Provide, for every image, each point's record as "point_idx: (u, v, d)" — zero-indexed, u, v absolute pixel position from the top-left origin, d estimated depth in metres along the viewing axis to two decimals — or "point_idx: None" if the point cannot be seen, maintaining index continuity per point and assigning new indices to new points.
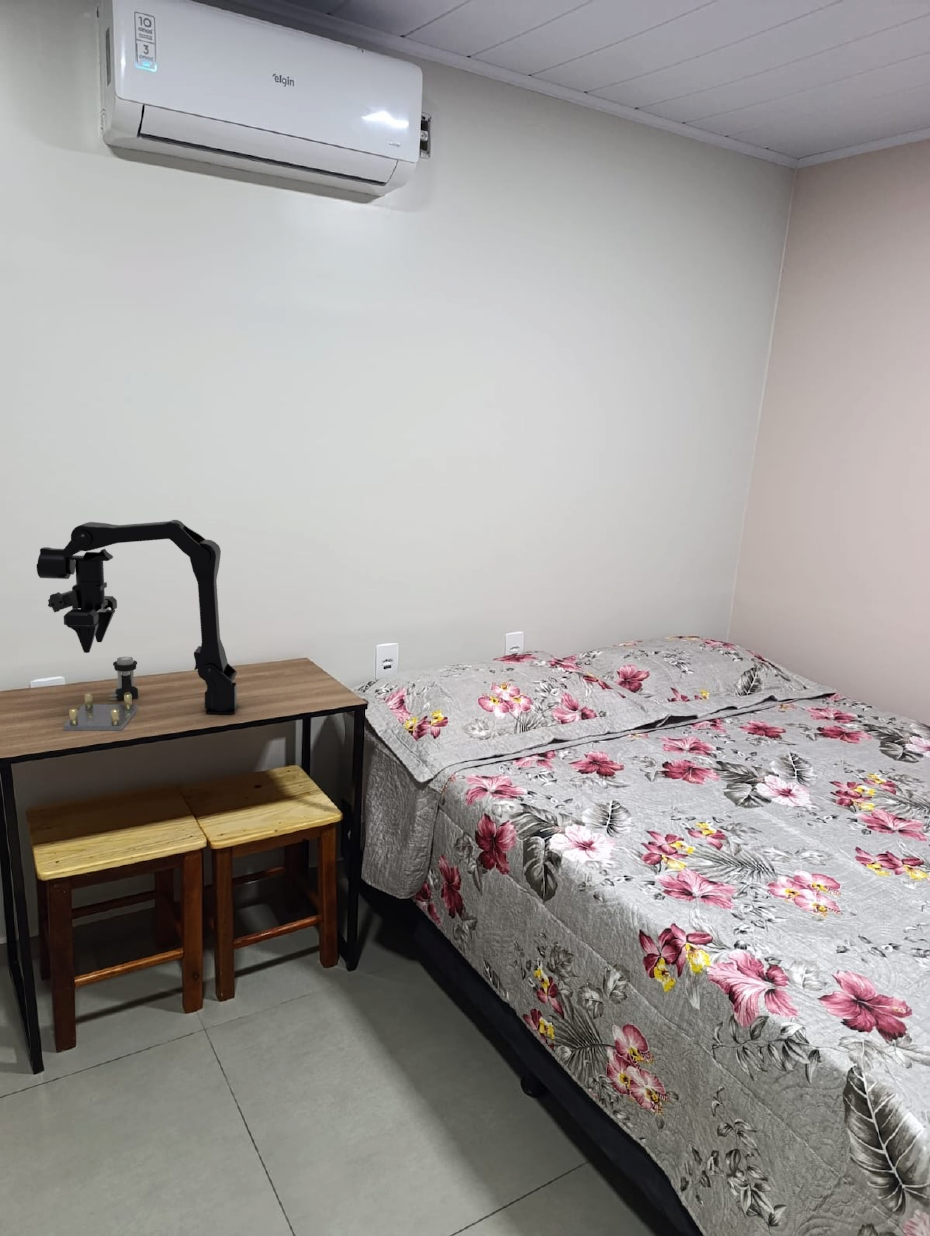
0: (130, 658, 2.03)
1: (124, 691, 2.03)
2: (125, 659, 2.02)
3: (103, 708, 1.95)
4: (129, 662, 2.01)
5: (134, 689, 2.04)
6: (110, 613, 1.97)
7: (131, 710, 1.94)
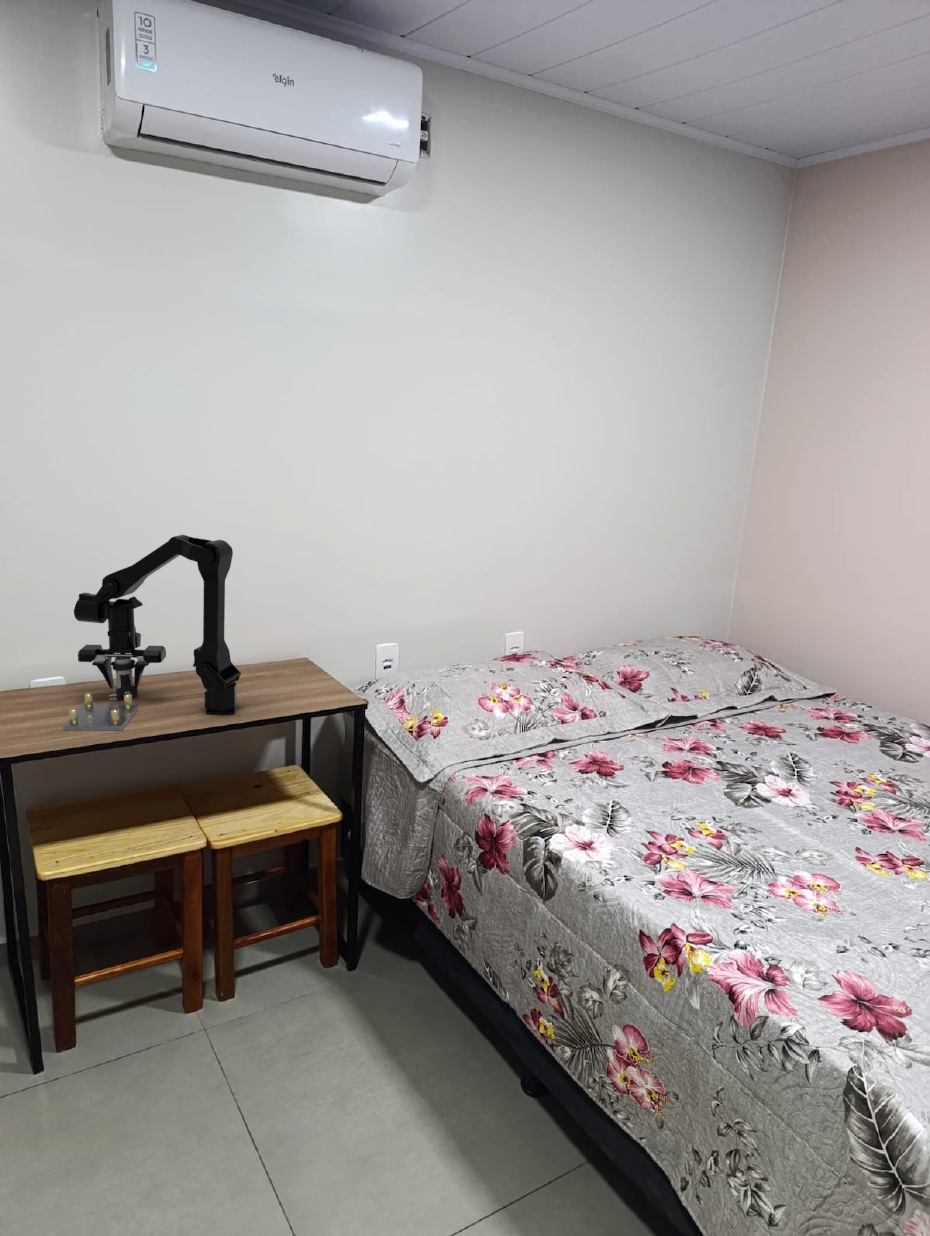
0: None
1: (123, 690, 2.03)
2: (123, 658, 2.02)
3: (103, 708, 1.95)
4: (127, 661, 2.01)
5: (133, 688, 2.04)
6: (135, 664, 2.00)
7: (131, 710, 1.94)
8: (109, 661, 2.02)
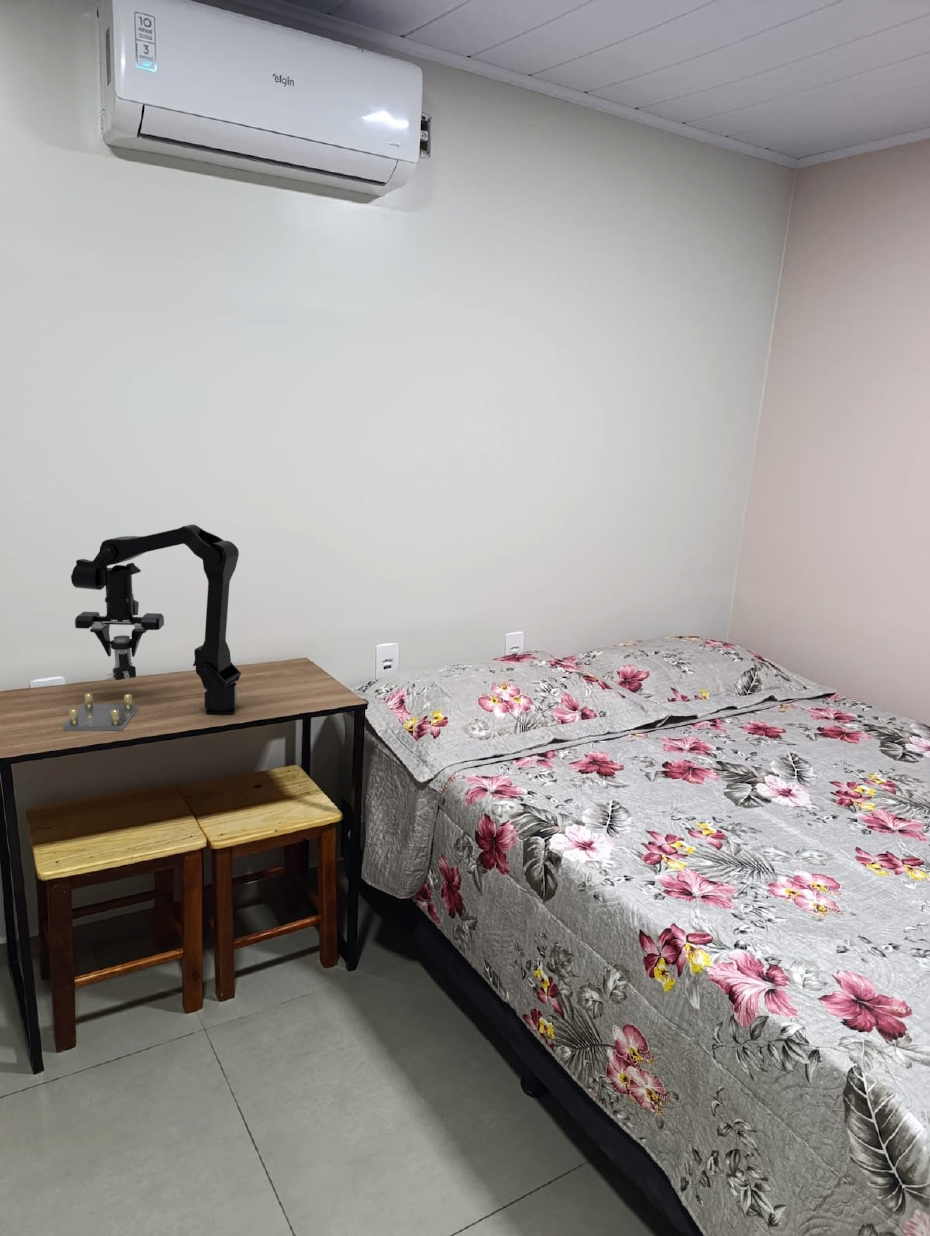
0: (127, 636, 2.02)
1: (122, 670, 2.02)
2: (122, 637, 2.01)
3: (103, 708, 1.95)
4: (126, 640, 2.01)
5: (132, 668, 2.03)
6: (132, 631, 1.98)
7: (131, 710, 1.94)
8: (107, 628, 2.01)
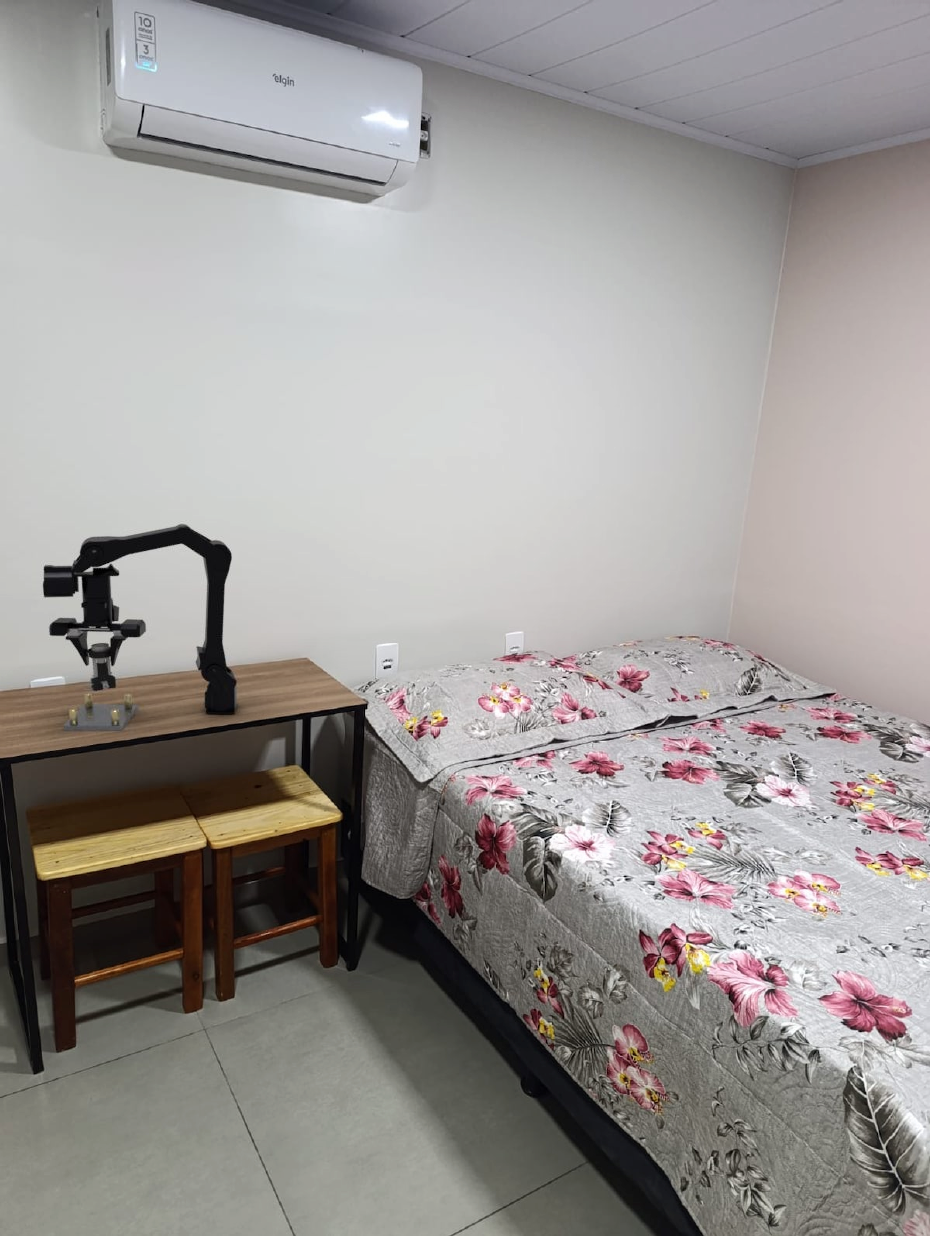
0: (106, 644, 1.88)
1: (100, 680, 1.88)
2: (100, 645, 1.87)
3: (103, 708, 1.95)
4: (104, 648, 1.87)
5: (111, 678, 1.89)
6: None
7: (131, 710, 1.94)
8: (84, 636, 1.87)
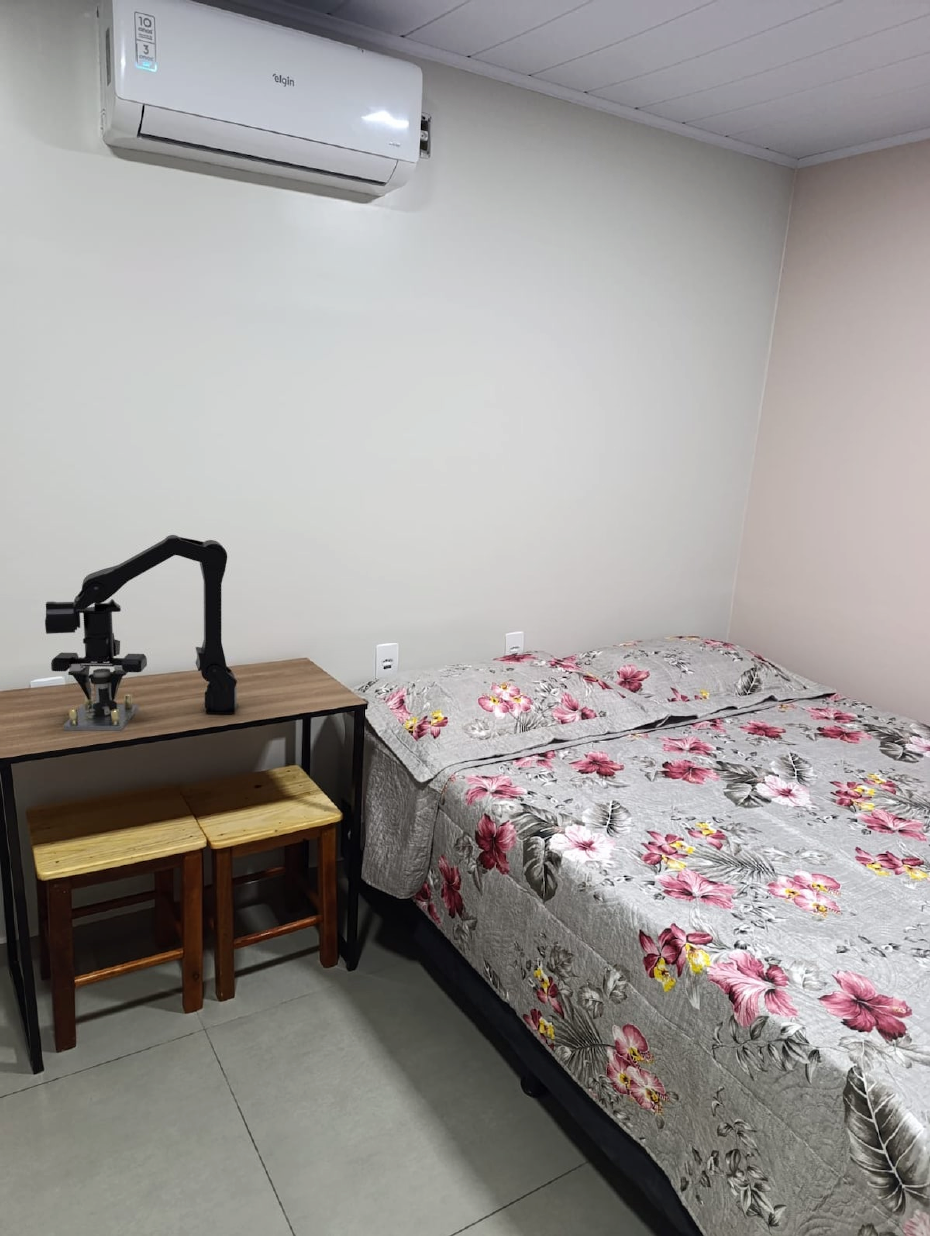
0: (107, 670, 1.89)
1: (102, 705, 1.89)
2: (102, 671, 1.88)
3: None
4: (106, 674, 1.88)
5: (113, 703, 1.90)
6: None
7: (131, 710, 1.94)
8: (87, 670, 1.88)
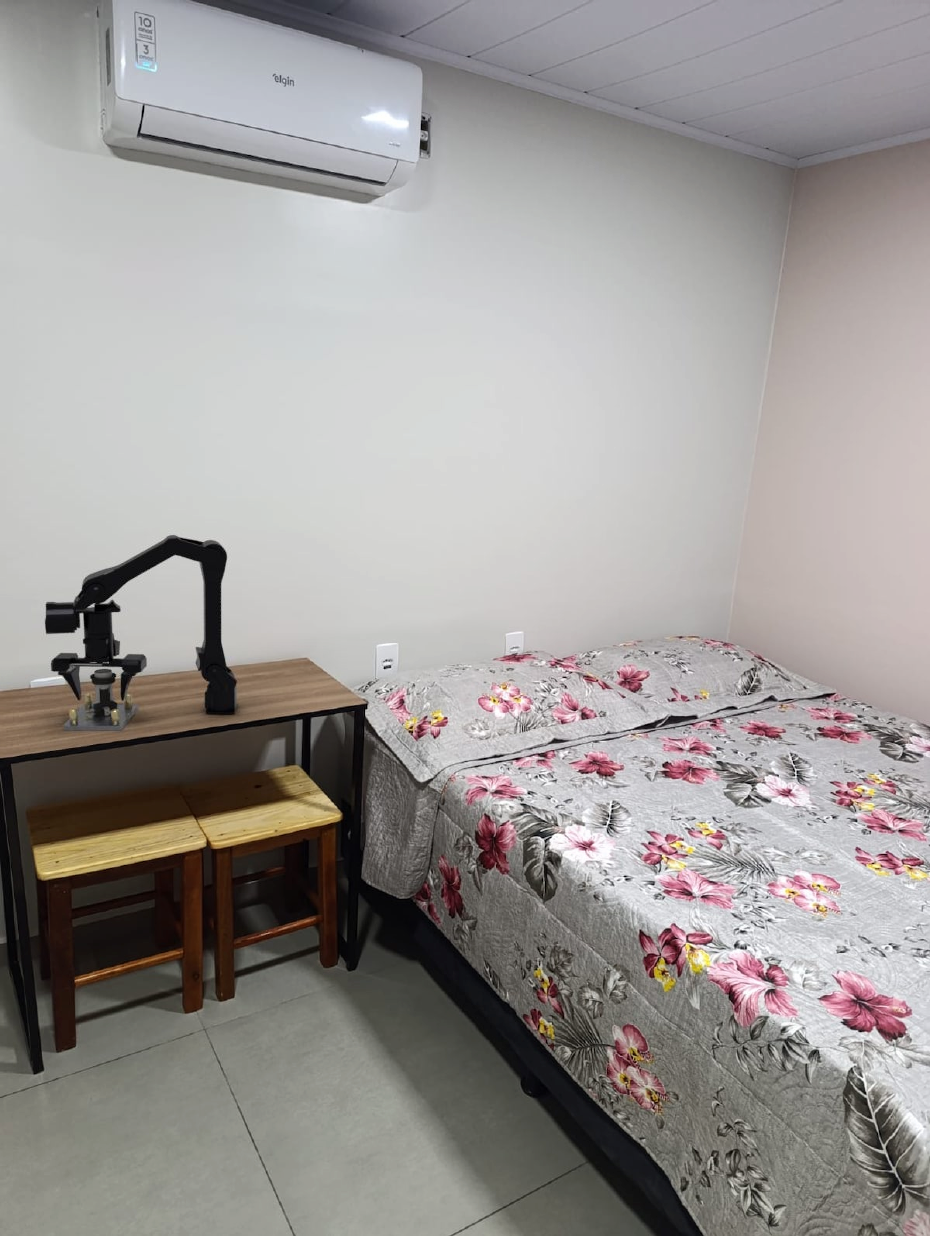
0: (109, 670, 1.89)
1: (102, 706, 1.89)
2: (103, 672, 1.88)
3: None
4: (108, 675, 1.88)
5: (113, 703, 1.90)
6: (121, 674, 1.86)
7: (131, 710, 1.94)
8: (77, 670, 1.88)
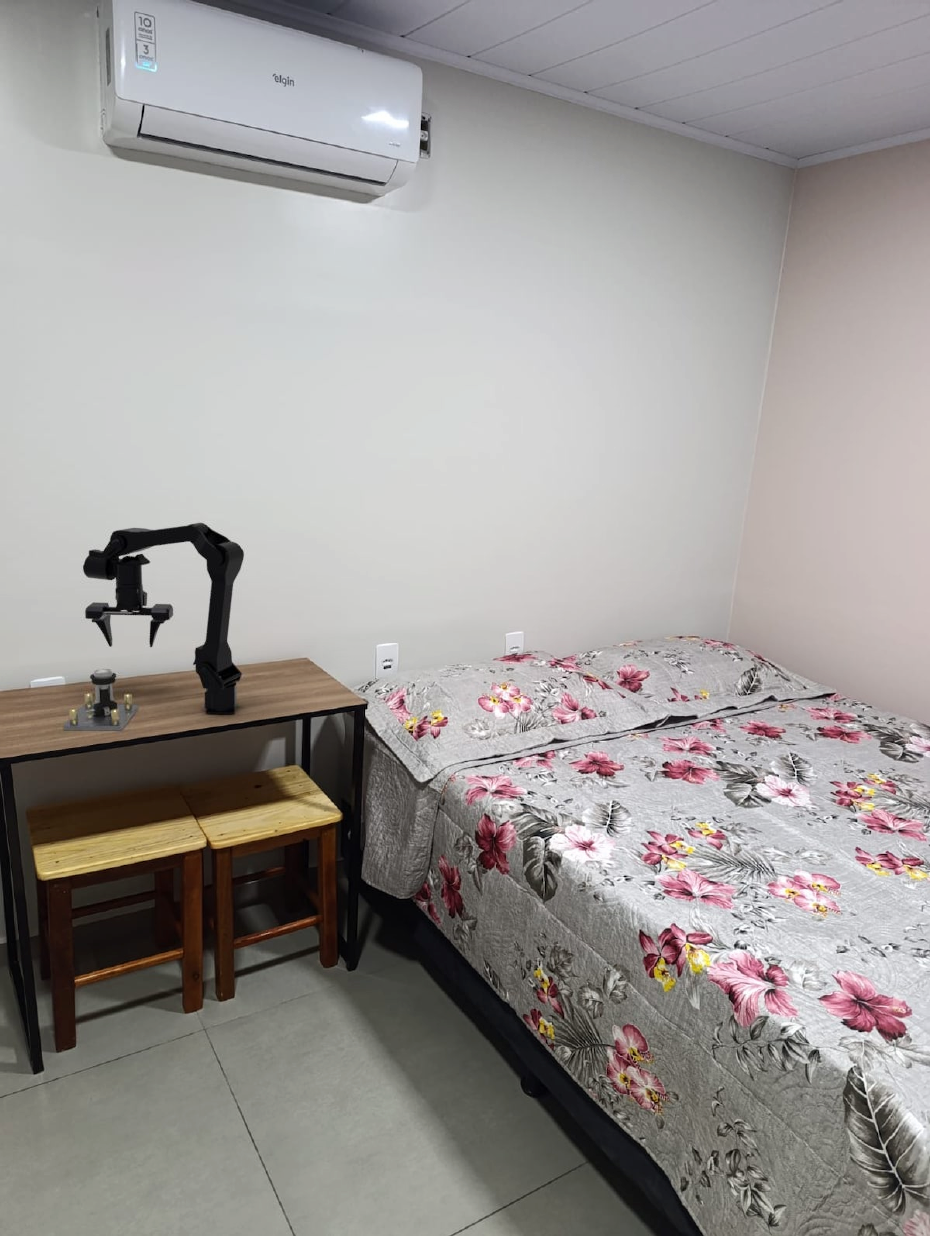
0: (109, 670, 1.89)
1: (102, 706, 1.89)
2: (103, 672, 1.88)
3: None
4: (108, 675, 1.88)
5: (113, 704, 1.90)
6: None
7: (131, 710, 1.94)
8: (108, 619, 2.02)
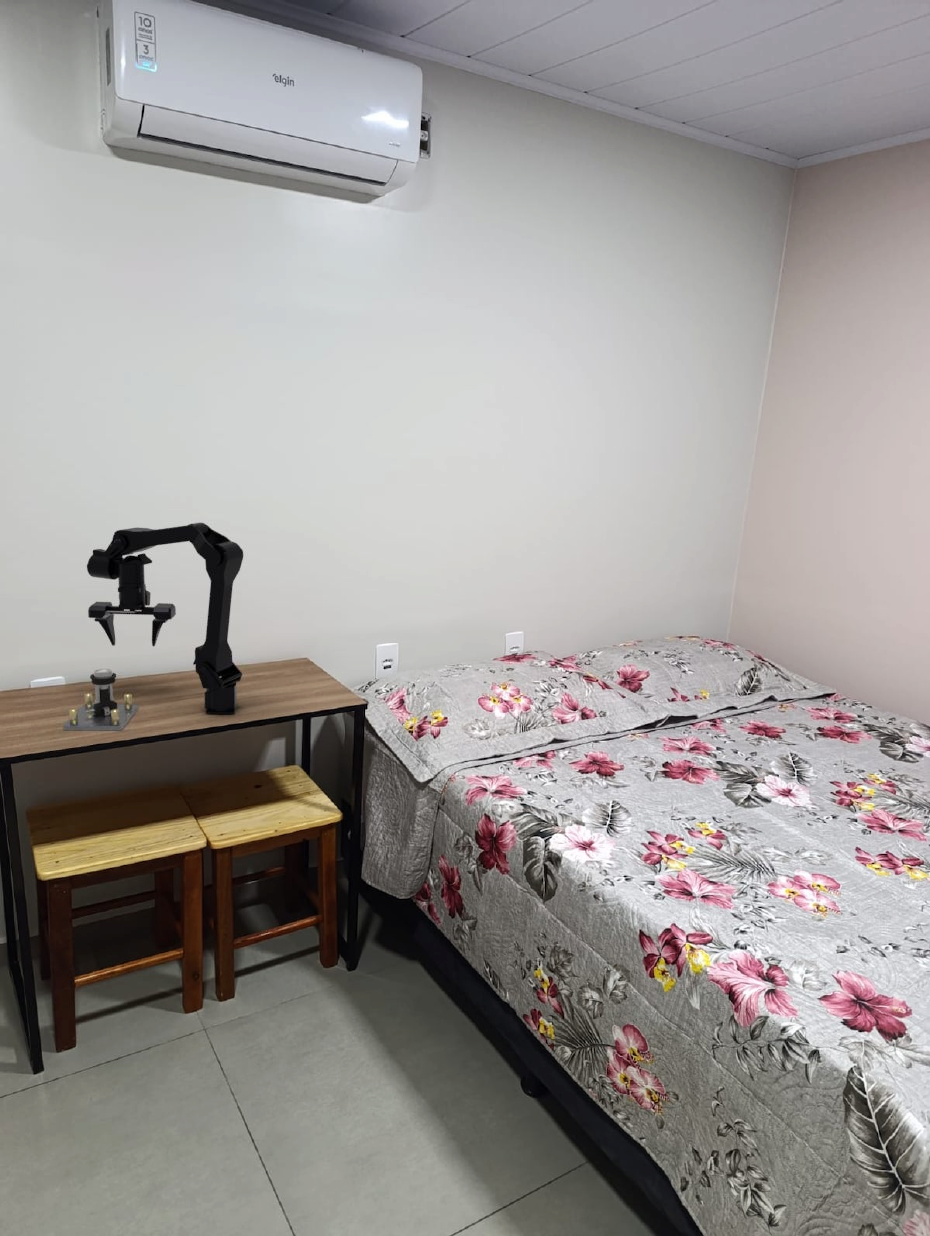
0: (109, 670, 1.89)
1: (102, 706, 1.89)
2: (103, 672, 1.88)
3: None
4: (107, 675, 1.88)
5: (113, 704, 1.90)
6: (152, 621, 2.01)
7: (131, 710, 1.94)
8: (111, 618, 2.03)
